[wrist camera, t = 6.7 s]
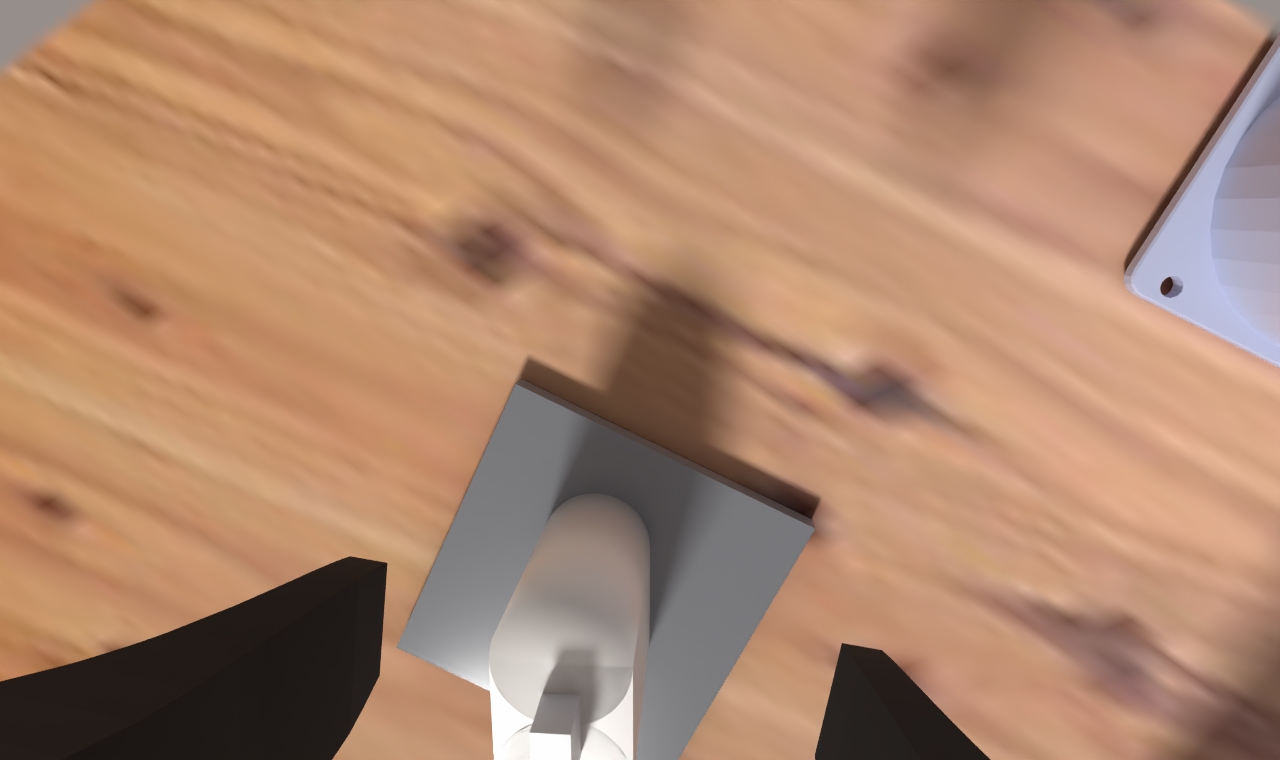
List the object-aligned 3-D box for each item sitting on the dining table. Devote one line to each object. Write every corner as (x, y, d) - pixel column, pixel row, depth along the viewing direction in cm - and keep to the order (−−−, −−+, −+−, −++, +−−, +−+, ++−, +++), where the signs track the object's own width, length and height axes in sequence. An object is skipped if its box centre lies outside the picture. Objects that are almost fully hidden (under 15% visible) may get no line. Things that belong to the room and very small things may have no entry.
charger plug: (650, 494, 20) (626, 634, 14) (649, 681, 22) (628, 891, 15) (541, 491, 20) (467, 628, 14) (547, 676, 22) (482, 881, 15)
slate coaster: (811, 519, 21) (815, 528, 20) (669, 760, 23) (668, 774, 22) (520, 378, 20) (515, 383, 20) (404, 635, 23) (396, 647, 22)
